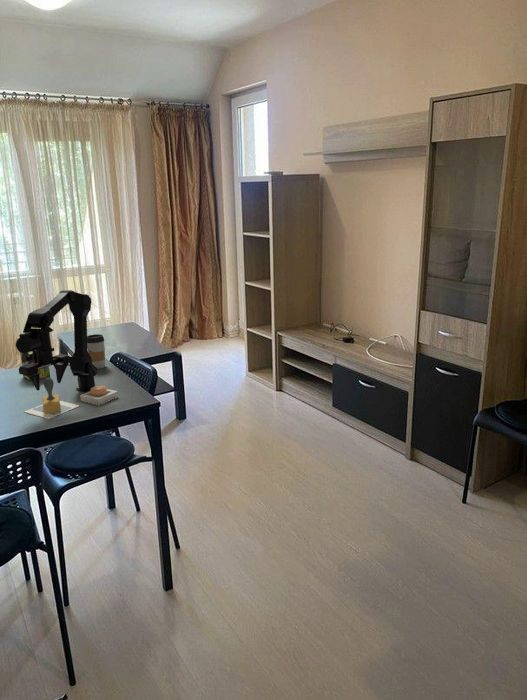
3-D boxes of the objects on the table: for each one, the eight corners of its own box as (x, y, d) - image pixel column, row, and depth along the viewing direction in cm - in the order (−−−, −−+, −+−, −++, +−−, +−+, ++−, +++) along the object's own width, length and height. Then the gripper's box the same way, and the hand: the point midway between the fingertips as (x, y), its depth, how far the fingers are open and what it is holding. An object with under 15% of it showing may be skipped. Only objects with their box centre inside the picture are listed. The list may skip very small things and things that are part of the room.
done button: (110, 392, 212) (109, 387, 211) (98, 397, 207) (97, 391, 206) (99, 390, 215) (99, 384, 214) (87, 395, 210) (87, 389, 209)
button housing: (118, 397, 213) (117, 391, 212) (98, 405, 205) (98, 399, 204) (100, 393, 218) (99, 387, 217) (81, 401, 210) (80, 395, 209)
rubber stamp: (43, 405, 206) (39, 375, 203) (59, 402, 208) (55, 373, 205) (44, 414, 197) (39, 383, 194) (60, 411, 199) (56, 380, 196)
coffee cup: (85, 367, 253) (82, 336, 249) (102, 363, 259) (98, 333, 255) (94, 370, 247) (90, 339, 243) (110, 366, 253) (107, 335, 249)
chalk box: (22, 377, 242) (17, 345, 238) (43, 372, 248) (38, 341, 244) (30, 381, 235) (25, 349, 231) (51, 376, 241) (46, 344, 237)
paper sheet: (79, 406, 205) (79, 405, 204) (48, 419, 193) (48, 418, 193) (55, 400, 212) (55, 399, 212) (24, 412, 200) (24, 411, 200)
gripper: (50, 338, 207) (55, 376, 212) (6, 349, 192) (12, 390, 196) (69, 341, 202) (74, 380, 206) (25, 353, 186) (32, 395, 191)
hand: (48, 386), depth 200 cm, fingers open, 9 cm apart
